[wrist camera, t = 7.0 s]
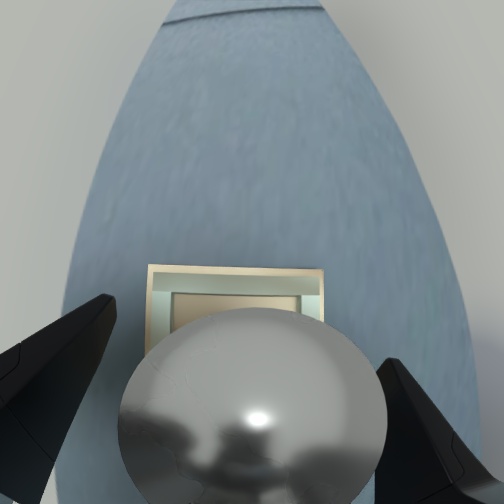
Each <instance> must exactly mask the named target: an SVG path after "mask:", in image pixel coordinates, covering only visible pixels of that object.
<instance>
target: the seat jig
mask: <svg viewBox="0 0 504 504" xmlns="http://www.w3.org/2000/svg"><path fill="white" fill-rule="evenodd" d="M250 307H260V308H276V309H283V310H289V311H293V312H297V313H300V314H304V315H307V316H310V317H312V318H315V319H317V320H319V321H322V322H324V286H323V270H317V269H275V268H240V267H209V266H181V265H155V264H148V278H147V296H146V321H145V356H146V355H147V354H148V353H149V351H151V350H152V349H153V348H154V347H155V346H156V345H157V344H158V343H159V342H160V341H162V340H163V339H164V338H165V337H167V336H168V335H170V334H171V333H173V332H174V331H176V330H177V329H179V328H181V327H183V326H185V325H187V324H189V323H190V322H192V321H194V320H197V319H200V318H202V317H205V316H208V315H211V314H214V313H218V312H222V311H227V310H231V309H240V308H250Z"/></svg>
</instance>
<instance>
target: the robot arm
mask: <svg viewBox="0 0 504 504" xmlns="http://www.w3.org/2000/svg"><path fill="white" fill-rule="evenodd" d="M116 318H117V311H116V300H115V297H114V296H111V295H108V294H101V295H99V296H97V297H95V298H94V299H92V300H90V301H88V302H87V303H85V304H83V305H82V306H80V307H78V308H76V309H75V310H73V311H71V312H70V313H68V314H66V315H65V316H63V317H61V318H59V319H58V320H56V321H55V322H53V323H51V324H49V325H48V326H46V327H44V328H43V329H41V330H39V331H38V332H36V333H35V334H33V335H31V336H30V337H28V338H26V339H25V340H23V341H21V343H18V344H16V345H15V346H13V347H12V348H10V349H8V350H6V351H5V352H3V353H1V354H0V504H12V503H13V501H15V502H17V503H19V504H40V501H41V498H42V495H43V493H44V490H45V487H46V484H47V482H48V479H49V477H50V474H51V472H52V469H53V466H54V464H55V463H54V462H55V461H56V459H57V456H58V454H59V451H60V449H61V446H62V444H63V442H64V439H65V437H66V435H67V432H68V430H69V428H70V426H71V423H72V421H73V419H74V417H75V414H76V412H77V410H78V408H79V406H80V403H81V401H82V399H83V397H84V395H85V393H86V391H87V388H88V386H89V384H90V382H91V380H92V378H93V376H94V374H95V372H96V370H97V368H98V366H99V364H100V362H101V359H102V357H103V354H104V351H105V349H106V346H107V343H108V341H109V338H110V335H111V333H112V330H113V327H114V325H115V322H116ZM376 374H377V376H378V378H379V380H380V383H381V386H382V389H383V393H384V396H385V401H386V408H387V432H386V440H385V444H384V448H383V451H382V455H381V457H380V460H379V462H378V465H377V467H376V469H375V503H374V504H504V483H503V482H501V481H499V480H497V479H495V478H494V477H493V476H492V475H491V474H490V473H489V472H488V471H487V469H486V468H485V467H484V466H483V465H482V464H481V462H480V461H479V460H478V459H477V458H476V457H475V456H474V454H473V453H472V452H471V451H470V450H469V449H468V447H467V446H466V445H465V444H464V442H463V441H462V440H461V438H460V437H459V436H458V434H457V433H456V432H455V431H453V428H452V426H451V425H450V424H449V423H448V421H447V420H446V419H445V417H444V416H443V415H442V413H441V412H440V411H439V409H438V408H437V407H436V406H435V404H434V403H433V402H432V400H431V399H430V398H429V397H428V395H427V394H426V393H425V391H424V390H423V389H422V388H421V386H420V385H419V384H418V383H417V381H416V380H415V379H414V377H413V376H412V375H411V374H410V372H409V371H408V370H407V369H406V367H405V366H404V365H403V364H402V363H401V361H400V360H399V359H397V358H387V359H386V360H385V361H384V362H383V363H382V365H381V366H380V367H379V369H378V370H377V371H376Z"/></svg>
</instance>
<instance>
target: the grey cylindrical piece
mask: <svg viewBox="0 0 504 504" xmlns="http://www.w3.org/2000/svg"><path fill="white" fill-rule="evenodd" d="M386 432H387V408H386V401H385V396H384V393H383V389H382V386H381V383H380V380H379V378H378V376H377V374H376V372H375V370H374V368H373V367H372V365H371V364H370V362H369V361H368V359H367V358H366V356H365V355H364V354H363V353H362V352H361V351H360V350H359V348H358V347H357V346H356V345H355V344H354V343H353V342H352V341H351V340H349V339H348V338H347V337H346V336H344V335H343V334H342V333H341V332H339V331H338V330H336V329H334V328H333V327H331V326H329V325H328V324H326V323H324V322H322V321H319V320H317V319H315V318H312V317H310V316H307V315H304V314H300V313H297V312H293V311H289V310H283V309H276V308H260V307H250V308H240V309H231V310H227V311H222V312H218V313H214V314H211V315H208V316H205V317H202V318H200V319H197V320H194V321H192V322H190V323H189V324H187V325H185V326H183V327H181V328H179V329H177V330H176V331H174V332H173V333H171V334H170V335H168V336H167V337H165V338H164V339H163V340H162V341H160V342H159V343H158V344H157V345H156V346H155V347H154V348H153V349H152V350H151V351H149V353H148V354H147V355H146V356H145V357H144V359H143V360H142V361H141V362H140V363H139V365H138V366H137V368H136V370H135V371H134V373H133V374H132V376H131V378H130V379H129V382H128V384H127V386H126V389H125V391H124V394H123V397H122V401H121V405H120V409H119V416H118V440H119V446H120V451H121V455H122V459H123V461H124V464H125V466H126V469H127V472H128V474H129V475H130V477H131V479H132V481H133V482H134V484H135V486H136V487H137V489H138V490H139V491H140V493H141V494H142V495H143V496H144V498H145V499H146V500H147V501H148V502H149V503H150V504H350V503H351V502H352V501H353V500H354V499H355V498H356V497H357V496H358V495H359V493H360V492H361V491H362V489H363V488H364V487H365V485H366V484H367V483H368V481H369V480H370V478H371V476H372V474H373V473H374V471H375V469H376V467H377V465H378V462H379V460H380V457H381V455H382V451H383V448H384V444H385V440H386Z"/></svg>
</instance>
